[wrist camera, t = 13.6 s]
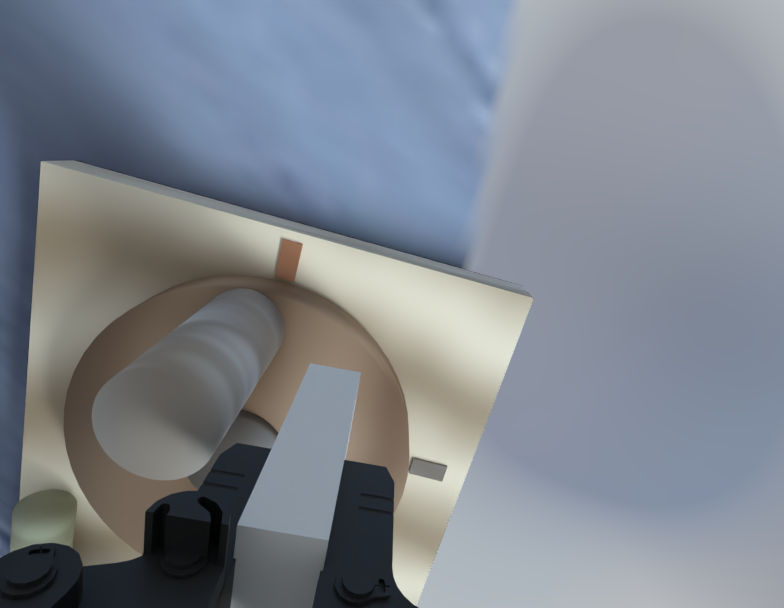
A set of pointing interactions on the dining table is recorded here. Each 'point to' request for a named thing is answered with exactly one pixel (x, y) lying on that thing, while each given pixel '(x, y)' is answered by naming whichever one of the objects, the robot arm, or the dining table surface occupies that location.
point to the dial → (215, 390)
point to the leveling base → (269, 260)
